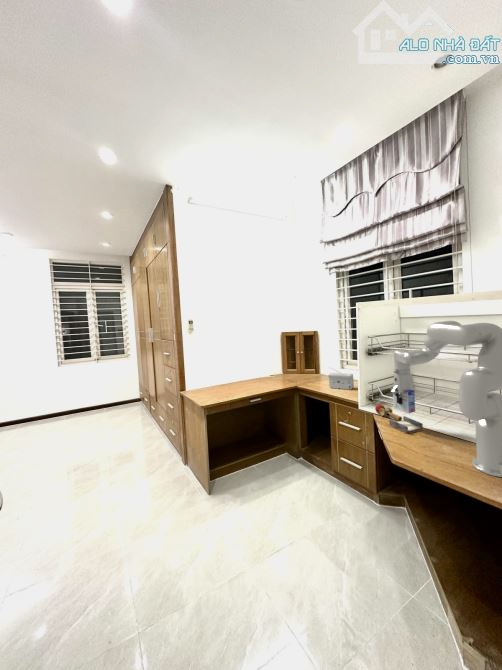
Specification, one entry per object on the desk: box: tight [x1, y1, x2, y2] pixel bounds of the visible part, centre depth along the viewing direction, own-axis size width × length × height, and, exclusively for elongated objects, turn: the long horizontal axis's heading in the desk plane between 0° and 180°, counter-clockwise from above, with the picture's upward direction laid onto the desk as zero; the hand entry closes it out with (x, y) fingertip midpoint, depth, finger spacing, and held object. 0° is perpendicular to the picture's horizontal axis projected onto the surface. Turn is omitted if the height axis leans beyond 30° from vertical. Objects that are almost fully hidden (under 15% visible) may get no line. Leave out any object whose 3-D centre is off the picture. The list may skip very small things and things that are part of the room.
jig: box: [388, 415, 424, 435], centre depth 147 cm, size 12×11×4 cm
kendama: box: [374, 404, 403, 422], centre depth 165 cm, size 8×6×18 cm
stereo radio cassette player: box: [327, 366, 355, 390], centre depth 233 cm, size 21×8×20 cm, turn 53°
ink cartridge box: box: [392, 389, 416, 414], centre depth 146 cm, size 10×6×14 cm, turn 22°
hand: (404, 402), depth 146 cm, fingers closed on ink cartridge box, 5 cm apart
